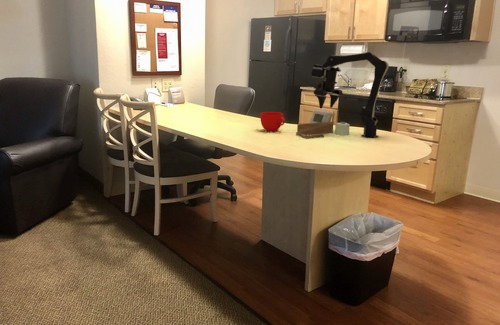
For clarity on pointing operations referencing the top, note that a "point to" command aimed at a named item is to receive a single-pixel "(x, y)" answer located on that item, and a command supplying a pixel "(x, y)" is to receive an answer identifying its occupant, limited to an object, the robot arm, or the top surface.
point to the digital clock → (320, 116)
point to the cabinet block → (342, 128)
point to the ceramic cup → (271, 120)
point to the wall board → (314, 129)
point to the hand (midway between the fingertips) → (325, 107)
